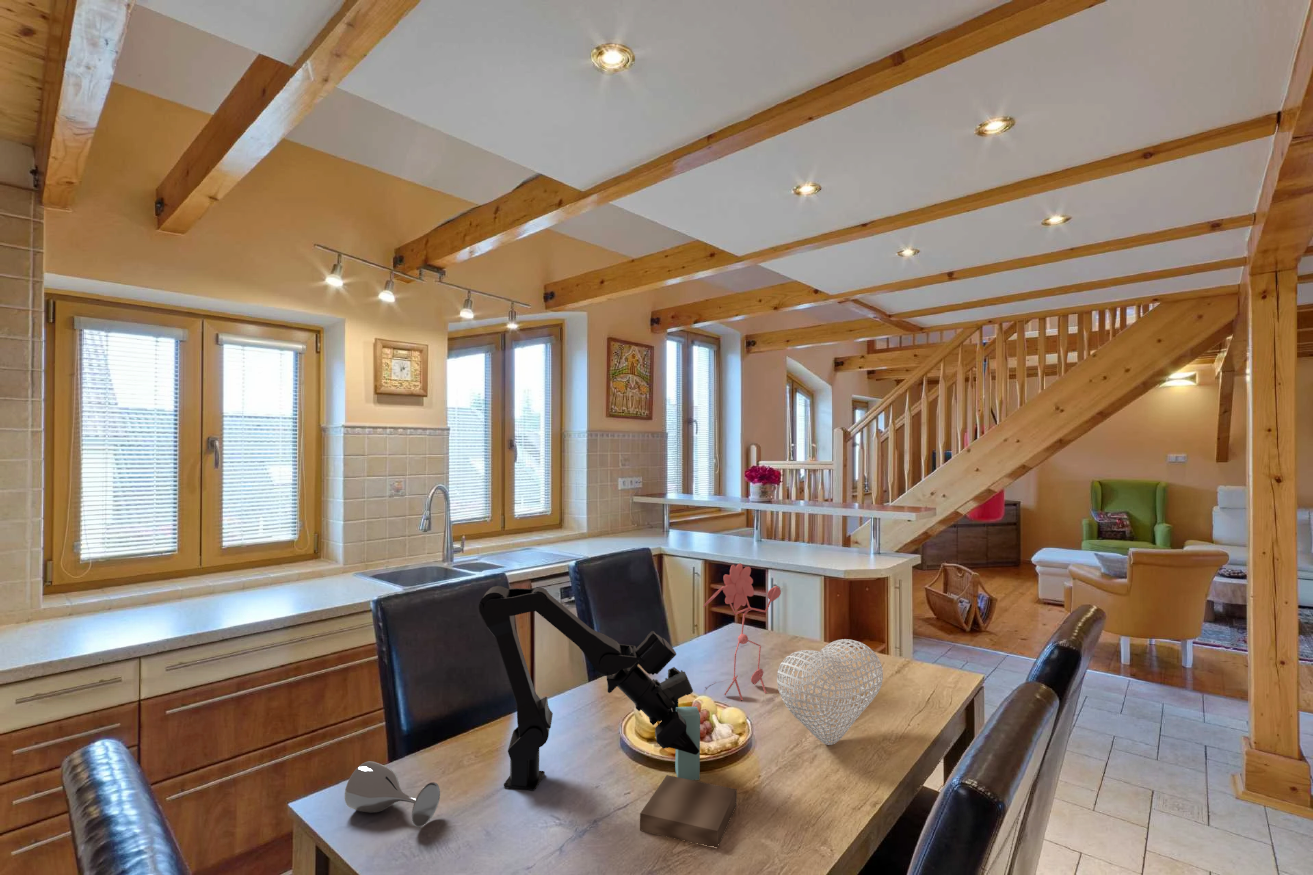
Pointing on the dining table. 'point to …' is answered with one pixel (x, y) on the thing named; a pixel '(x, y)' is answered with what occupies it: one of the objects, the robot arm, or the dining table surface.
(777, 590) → the flower headed figure
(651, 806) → the walnut pedestal
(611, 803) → the dining table surface
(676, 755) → the teal block
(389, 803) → the wine glass
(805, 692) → the heart
